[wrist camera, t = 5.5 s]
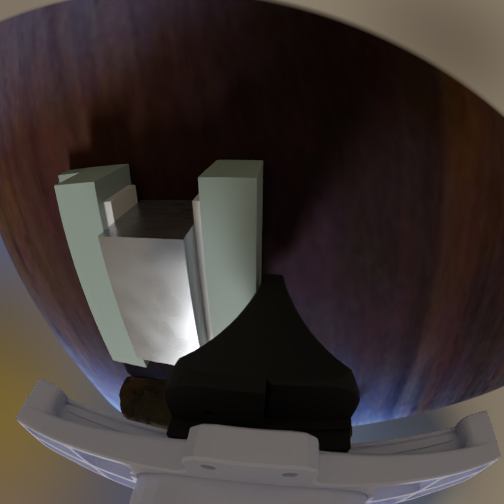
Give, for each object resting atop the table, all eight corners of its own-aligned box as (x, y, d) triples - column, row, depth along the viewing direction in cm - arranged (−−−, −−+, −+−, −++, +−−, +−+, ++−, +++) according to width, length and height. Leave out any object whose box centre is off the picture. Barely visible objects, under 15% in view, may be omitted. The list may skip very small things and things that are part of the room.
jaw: (263, 160, 12) (256, 178, 9) (259, 344, 17) (254, 382, 15) (208, 159, 12) (186, 177, 10) (221, 340, 18) (211, 378, 15)
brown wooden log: (353, 403, 21) (358, 451, 17) (333, 424, 23) (335, 466, 19) (126, 353, 20) (103, 398, 16) (131, 380, 22) (112, 421, 18)
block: (210, 200, 13) (183, 239, 10) (218, 316, 17) (203, 369, 13) (140, 200, 13) (97, 236, 10) (161, 310, 17) (137, 358, 13)
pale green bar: (135, 163, 12) (101, 181, 10) (167, 334, 18) (152, 368, 15) (69, 170, 13) (33, 188, 10) (112, 324, 18) (93, 354, 16)
